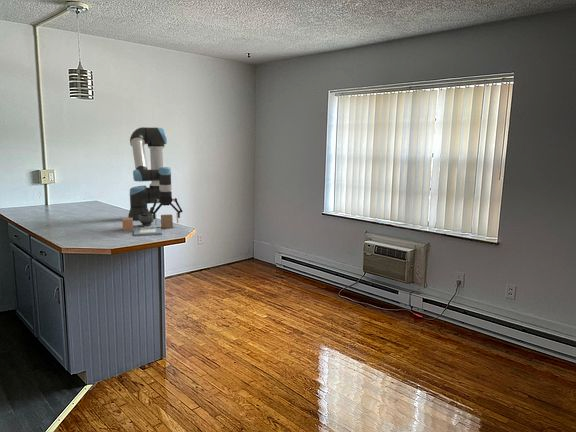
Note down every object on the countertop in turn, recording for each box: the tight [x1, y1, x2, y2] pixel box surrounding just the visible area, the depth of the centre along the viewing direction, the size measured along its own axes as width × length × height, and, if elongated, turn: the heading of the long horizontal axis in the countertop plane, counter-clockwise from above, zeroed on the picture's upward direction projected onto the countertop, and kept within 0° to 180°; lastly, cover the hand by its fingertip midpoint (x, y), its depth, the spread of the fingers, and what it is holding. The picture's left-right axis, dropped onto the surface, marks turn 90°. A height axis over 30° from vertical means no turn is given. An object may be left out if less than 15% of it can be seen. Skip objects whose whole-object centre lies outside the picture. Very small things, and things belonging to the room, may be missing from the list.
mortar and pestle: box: [138, 206, 155, 227], centre depth 294 cm, size 11×9×12 cm
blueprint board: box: [133, 227, 163, 237], centre depth 272 cm, size 16×16×1 cm
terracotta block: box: [121, 217, 134, 232], centre depth 281 cm, size 6×6×7 cm
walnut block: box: [160, 214, 174, 230], centre depth 288 cm, size 7×7×8 cm
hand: (166, 223), depth 288 cm, fingers open, 13 cm apart
